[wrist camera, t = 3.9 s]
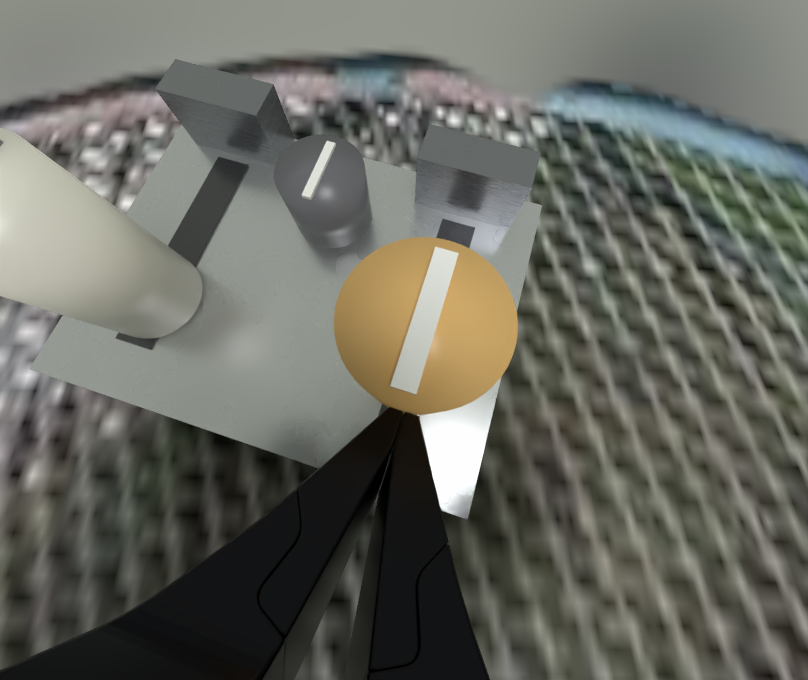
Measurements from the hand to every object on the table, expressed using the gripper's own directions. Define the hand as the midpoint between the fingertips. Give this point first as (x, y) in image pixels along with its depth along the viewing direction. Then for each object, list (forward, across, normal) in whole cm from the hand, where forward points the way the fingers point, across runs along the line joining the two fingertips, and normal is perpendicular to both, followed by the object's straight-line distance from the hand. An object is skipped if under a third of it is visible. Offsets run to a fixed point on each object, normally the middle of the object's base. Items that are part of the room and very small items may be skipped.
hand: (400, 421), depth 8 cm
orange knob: (+5, 0, +2) cm, 6 cm away
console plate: (+8, +7, +1) cm, 11 cm away
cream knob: (+5, +13, +2) cm, 14 cm away
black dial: (+10, +7, -2) cm, 13 cm away
